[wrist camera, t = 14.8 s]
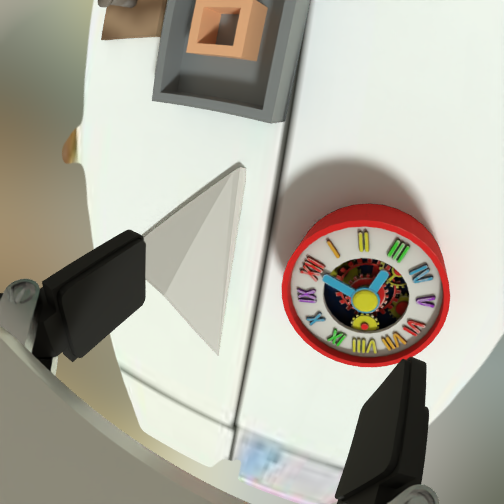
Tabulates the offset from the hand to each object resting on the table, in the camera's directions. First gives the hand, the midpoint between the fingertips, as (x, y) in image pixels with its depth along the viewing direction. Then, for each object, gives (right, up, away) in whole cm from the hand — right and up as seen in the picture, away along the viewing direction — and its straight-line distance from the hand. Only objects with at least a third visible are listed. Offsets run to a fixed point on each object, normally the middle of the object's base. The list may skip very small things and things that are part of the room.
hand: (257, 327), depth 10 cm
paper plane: (-13, +3, +41) cm, 43 cm away
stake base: (-17, +39, +23) cm, 49 cm away
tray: (-2, +29, +21) cm, 36 cm away
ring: (-2, +28, +20) cm, 35 cm away
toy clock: (+15, -1, +29) cm, 33 cm away
